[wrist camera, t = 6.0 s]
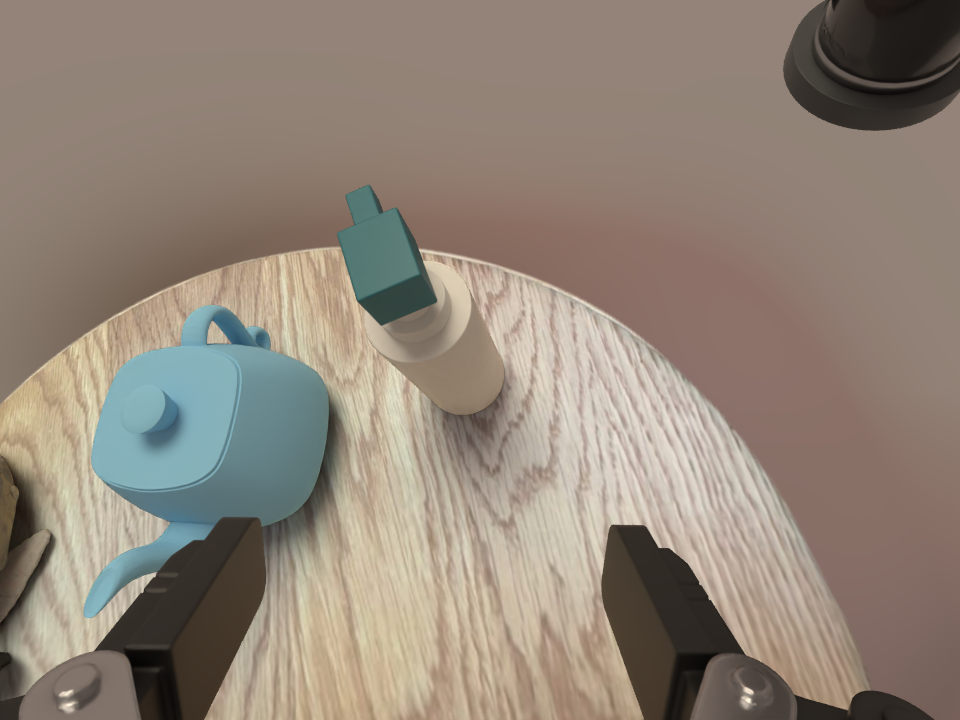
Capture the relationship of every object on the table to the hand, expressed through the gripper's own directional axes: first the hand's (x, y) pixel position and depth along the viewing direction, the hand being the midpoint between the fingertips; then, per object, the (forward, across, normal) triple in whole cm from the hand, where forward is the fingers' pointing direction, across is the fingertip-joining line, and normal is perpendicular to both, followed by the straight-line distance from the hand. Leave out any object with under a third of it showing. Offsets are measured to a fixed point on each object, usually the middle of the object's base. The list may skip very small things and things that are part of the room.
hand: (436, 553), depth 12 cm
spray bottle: (+24, -1, +4) cm, 24 cm away
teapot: (+24, +14, +11) cm, 29 cm away
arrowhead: (+22, +30, +20) cm, 43 cm away
